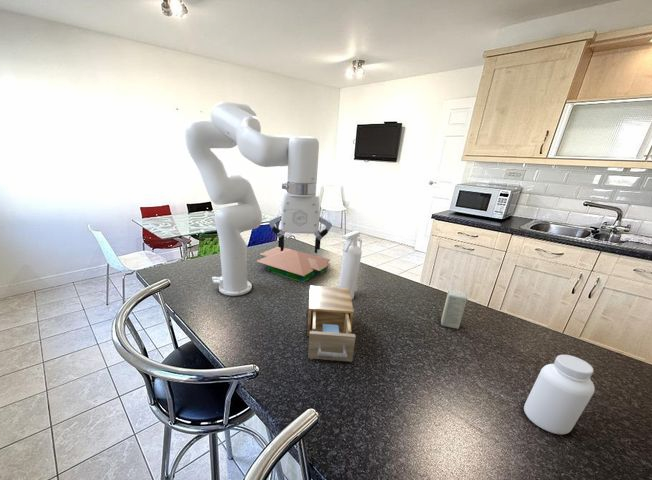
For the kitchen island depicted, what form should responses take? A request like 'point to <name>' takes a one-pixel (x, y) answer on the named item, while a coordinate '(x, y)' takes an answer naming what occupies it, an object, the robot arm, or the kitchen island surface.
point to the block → (330, 328)
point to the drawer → (331, 337)
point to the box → (453, 309)
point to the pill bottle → (560, 394)
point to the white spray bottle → (350, 262)
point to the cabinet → (329, 302)
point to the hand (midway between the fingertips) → (299, 250)
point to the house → (293, 262)
